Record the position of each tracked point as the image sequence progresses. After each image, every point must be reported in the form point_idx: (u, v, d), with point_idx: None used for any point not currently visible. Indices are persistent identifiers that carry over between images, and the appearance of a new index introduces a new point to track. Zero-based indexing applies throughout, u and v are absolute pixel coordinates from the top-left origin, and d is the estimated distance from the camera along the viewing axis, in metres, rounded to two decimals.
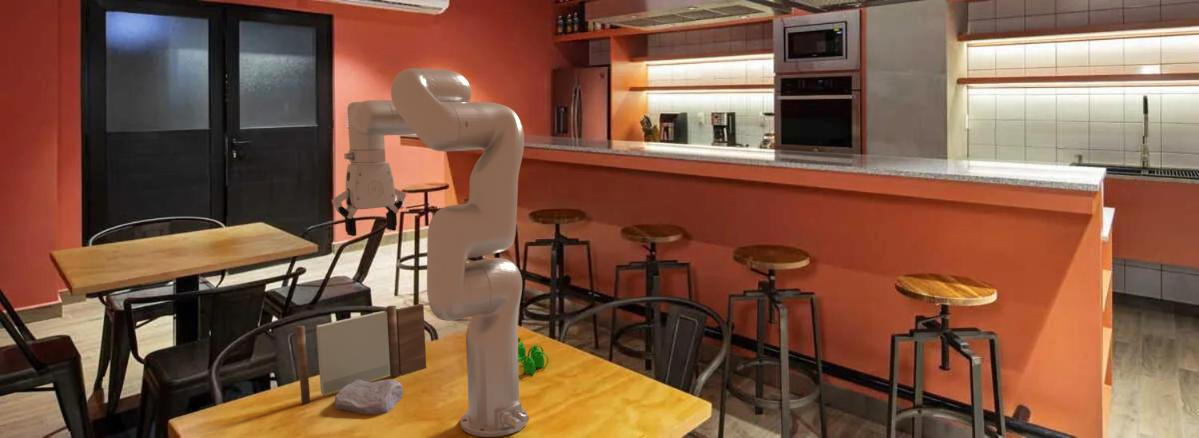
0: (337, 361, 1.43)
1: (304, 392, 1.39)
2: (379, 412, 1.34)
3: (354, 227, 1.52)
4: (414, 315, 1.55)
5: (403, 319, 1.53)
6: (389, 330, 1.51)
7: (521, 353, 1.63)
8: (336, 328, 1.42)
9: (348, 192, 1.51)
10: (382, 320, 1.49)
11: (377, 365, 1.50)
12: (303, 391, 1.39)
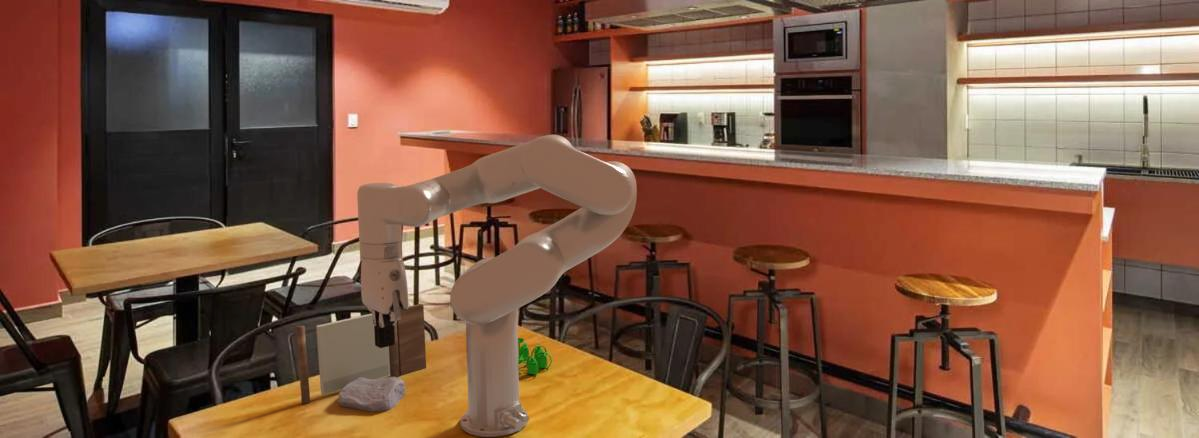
0: (337, 361, 1.43)
1: (304, 392, 1.39)
2: (382, 409, 1.36)
3: None
4: (414, 315, 1.55)
5: (403, 319, 1.53)
6: None
7: (524, 353, 1.63)
8: (336, 328, 1.42)
9: None
10: None
11: (377, 365, 1.50)
12: (303, 391, 1.39)
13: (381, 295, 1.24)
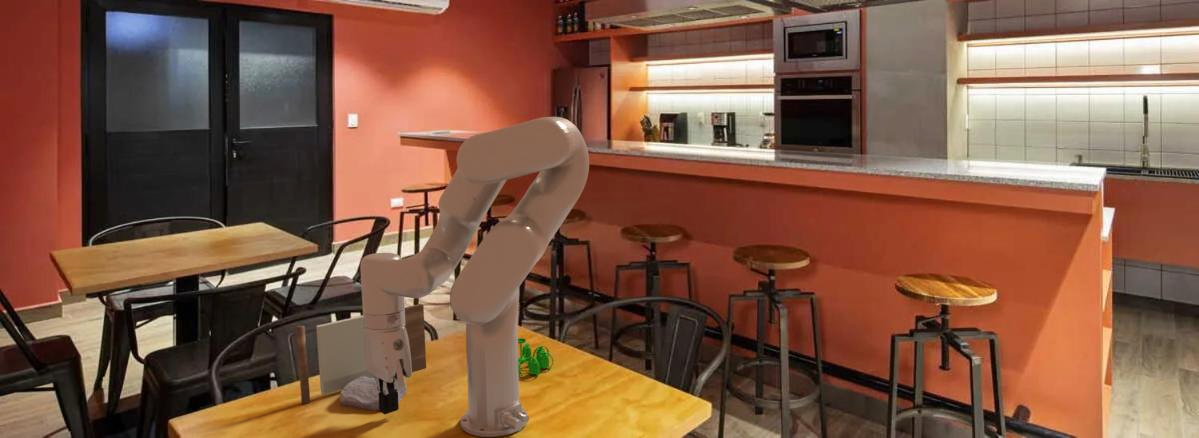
0: (337, 361, 1.43)
1: (304, 392, 1.39)
2: None
3: None
4: (414, 315, 1.55)
5: None
6: None
7: (527, 354, 1.62)
8: (336, 328, 1.42)
9: None
10: None
11: None
12: (303, 391, 1.39)
13: (385, 364, 1.26)
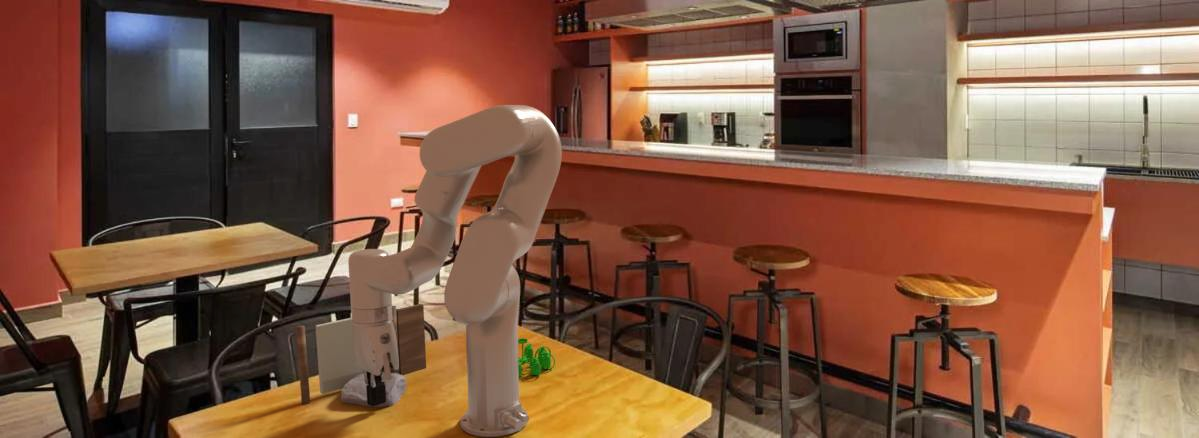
0: (337, 361, 1.43)
1: (304, 392, 1.39)
2: (386, 405, 1.38)
3: None
4: (414, 315, 1.55)
5: (403, 319, 1.53)
6: None
7: (528, 354, 1.62)
8: (335, 328, 1.42)
9: None
10: None
11: None
12: (303, 391, 1.39)
13: (372, 358, 1.30)
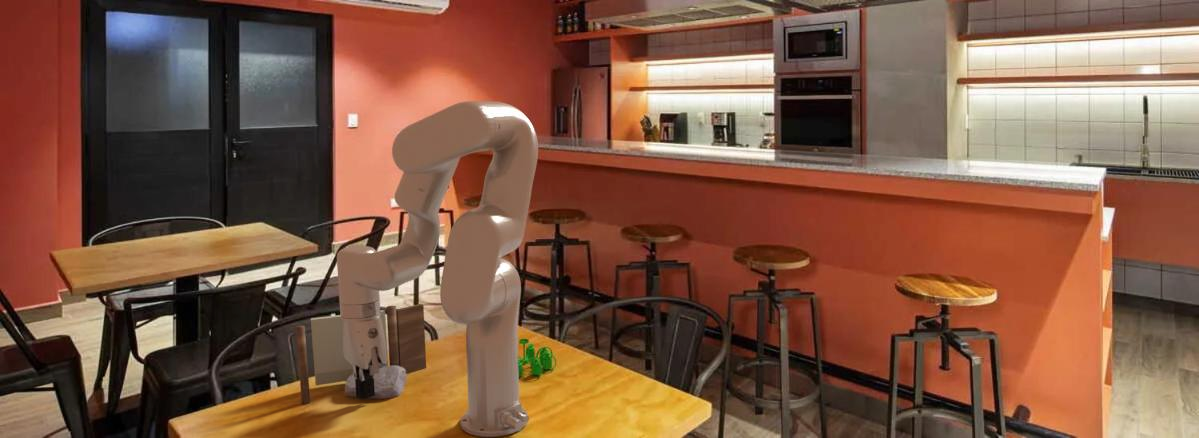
0: (331, 355, 1.47)
1: (304, 392, 1.39)
2: (391, 395, 1.42)
3: None
4: (414, 315, 1.55)
5: (403, 319, 1.53)
6: (389, 330, 1.51)
7: (530, 354, 1.62)
8: (329, 323, 1.46)
9: None
10: None
11: None
12: (303, 391, 1.39)
13: (360, 352, 1.33)
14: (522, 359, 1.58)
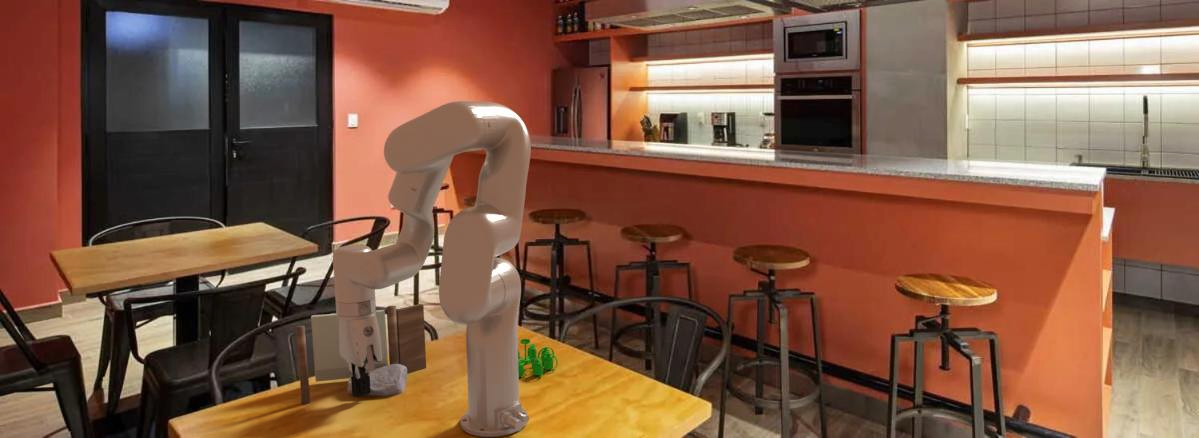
0: (330, 352, 1.48)
1: (304, 392, 1.39)
2: (395, 393, 1.44)
3: None
4: (414, 315, 1.55)
5: (403, 319, 1.53)
6: (389, 330, 1.51)
7: (532, 354, 1.62)
8: (329, 320, 1.47)
9: None
10: (379, 319, 1.50)
11: None
12: (303, 391, 1.39)
13: (356, 350, 1.34)
14: (523, 359, 1.58)
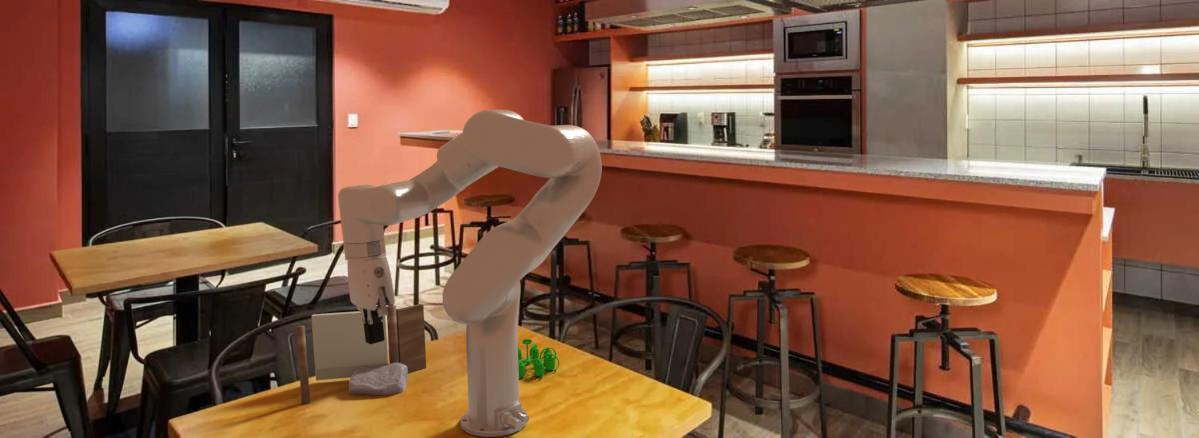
0: (331, 351, 1.49)
1: (304, 392, 1.39)
2: (396, 392, 1.44)
3: None
4: (414, 315, 1.55)
5: (403, 319, 1.53)
6: (389, 330, 1.51)
7: (534, 355, 1.62)
8: (329, 320, 1.48)
9: None
10: None
11: (373, 362, 1.51)
12: (303, 391, 1.39)
13: (367, 292, 1.29)
14: (525, 359, 1.57)
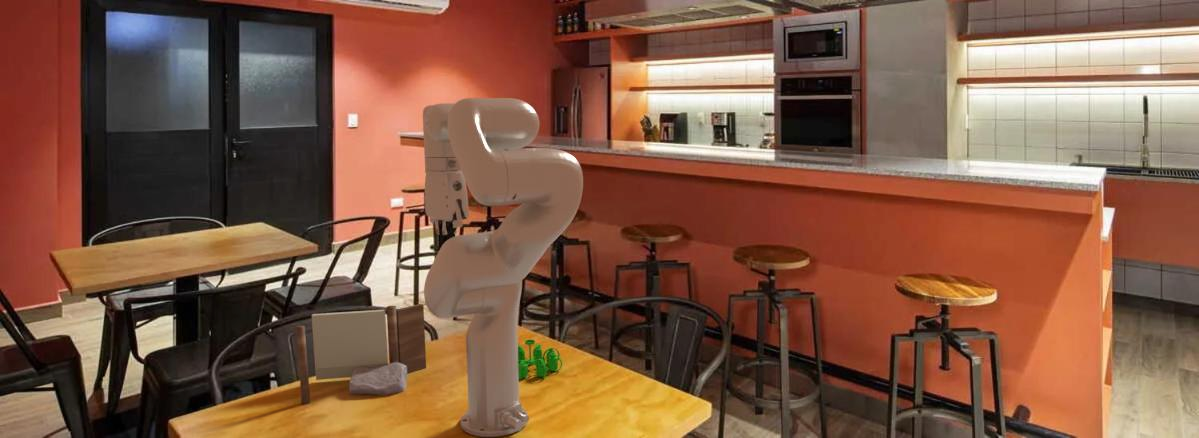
0: (331, 351, 1.49)
1: (304, 392, 1.39)
2: (397, 391, 1.44)
3: None
4: (414, 315, 1.55)
5: (403, 319, 1.53)
6: (389, 330, 1.51)
7: (537, 355, 1.61)
8: (329, 319, 1.48)
9: None
10: (379, 319, 1.50)
11: (373, 362, 1.52)
12: (303, 391, 1.39)
13: (445, 203, 1.39)
14: (528, 360, 1.57)
